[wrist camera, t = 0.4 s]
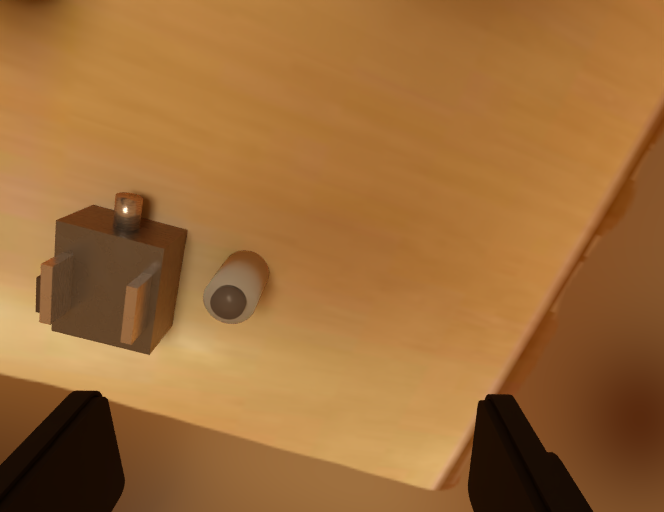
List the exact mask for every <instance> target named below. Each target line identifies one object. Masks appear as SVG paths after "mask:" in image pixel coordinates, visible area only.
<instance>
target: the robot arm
mask: <svg viewBox="0 0 664 512" xmlns="http://www.w3.org/2000/svg"><path fill="white" fill-rule="evenodd" d="M124 484H125V478H124V473H123V468H122V464H121V459H120V454H119V449H118V445H117V440H116V435H115V431H114V426H113V421H112V417H111V412H110V407H109V402H108V399H107V398H106V397H102V394H101V393H100V392H99V391H73V392H72V393H70V394H69V395H68V396H67V397H66V398H65V399H64V400H63V401H62V402H61V403H60V405H58V406H57V407H56V408H55V410H54V411H53V412H52V413H51V414H50V415H49V416H48V417H47V418H46V419H45V420H44V421H43V422H42V423H41V424H40V425H39V426H38V427H37V428H36V429H35V430H34V431H33V432H32V433H31V434H30V435H29V436H28V437H27V438H26V439H25V441H23V442H22V444H21V445H20V446H19V447H18V448H17V449H16V450H15V451H14V452H13V453H12V454H11V455H10V456H9V457H8V458H7V459H6V460H5V461H4V462H3V463H2V464H1V465H0V512H111V511H112V510H113V508H114V506H115V505H116V503H117V501H118V500H119V498H120V496H121V494H122V492H123V489H124ZM468 493H469V498H470V502H471V505H472V508H473V511H474V512H593V510H592V509H591V508H590V506H589V504H588V503H587V501H586V499H585V498H584V496H583V495H582V493H581V491H580V490H579V488H578V487H577V485H576V483H575V482H574V481H573V479H572V477H571V476H570V474H569V472H568V471H567V469H566V468H565V466H564V464H563V463H562V461H561V460H560V459H559V457H558V456H557V455H556V454H554V453H553V452H546V450H545V448H544V447H543V445H542V443H541V442H540V440H539V438H538V437H537V435H536V433H535V432H534V430H533V428H532V427H531V425H530V423H529V422H528V420H527V419H526V417H525V415H524V414H523V412H522V410H521V408H520V407H519V405H518V403H517V402H516V400H515V398H514V397H513V396H512V395H506V394H488V395H487V396H486V398H485V400H480V401H479V402H478V407H477V415H476V423H475V431H474V439H473V447H472V455H471V463H470V472H469V480H468Z"/></svg>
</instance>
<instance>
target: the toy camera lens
mask: <svg viewBox="0 0 664 512" xmlns="http://www.w3.org/2000/svg"><path fill="white" fill-rule="evenodd" d="M268 278H269V269H268V266H267V264H266V262H265V260H264V259H263V258H262V257H261V256H260V255H258V254H256V253H254V252H252V251H246V250H243V251H237V252H235V253H233V254H231V255H230V256H229V257H228V258H227V260H226V261H225V262H224V264H223V265H222V266H221V268H220V269H219V270H218V272H217V273H216V274H215V276H214V277H213V278H212V280H211V281H210V282H209V284H208V285H207V286H206V288H205V290H204V294H203V301H204V305H205V307H206V309H207V311H208V312H209V313H210V315H212V316H213V317H214V318H215V319H217V320H219V321H221V322H224V323H228V324H236V323H241V322H243V321H245V320H247V319H248V318H249V317H250V316H251V315H252V314H253V312H254V310H255V308H256V306H257V303H258V301H259V299H260V297H261V294H262V292H263V290H264V287H265V285H266V283H267V281H268Z"/></svg>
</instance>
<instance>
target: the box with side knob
mask: <svg viewBox="0 0 664 512" xmlns="http://www.w3.org/2000/svg"><path fill="white" fill-rule="evenodd" d="M142 205H143V197H141V196H140V195H137V194H133V193H125V192H122V193H117V194H116V196H115V207H114V210H110V209H107V208H103V207H99V206H95V205H92V206H89V207H87V208H85V209H82V210H80V211H77V212H75V213H73V214H70V215H68V216H65V217H63V218H61V219H58V220H56V234H55V257H53V258H51V259H49V260H47V261H46V262H44V263H42V264H41V275H40V276H38V277H37V280H36V312H38V313H40V320H39V322H41V323H45V324H49V325H51V324H52V331H55V332H59V333H63V334H67V335H71V336H75V337H79V338H83V339H87V340H91V341H96V342H100V343H104V344H108V345H112V346H116V347H120V348H124V349H128V350H132V351H136V352H140V353H144V354H148V355H150V354H151V352H152V351H153V350H154V348H155V347H156V346H157V344H158V343H159V342H160V341H161V339H162V338H163V337H164V335H165V334H166V333H167V332H168V330H169V329H170V328H171V326H172V324H173V317H174V311H175V305H176V298H177V292H178V286H179V279H180V273H181V267H182V260H183V254H184V248H185V241H186V235H187V230H185V229H182V228H178V227H174V226H170V225H167V224H163V223H159V222H155V221H152V220H148V219H144V218H141V213H142Z"/></svg>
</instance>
